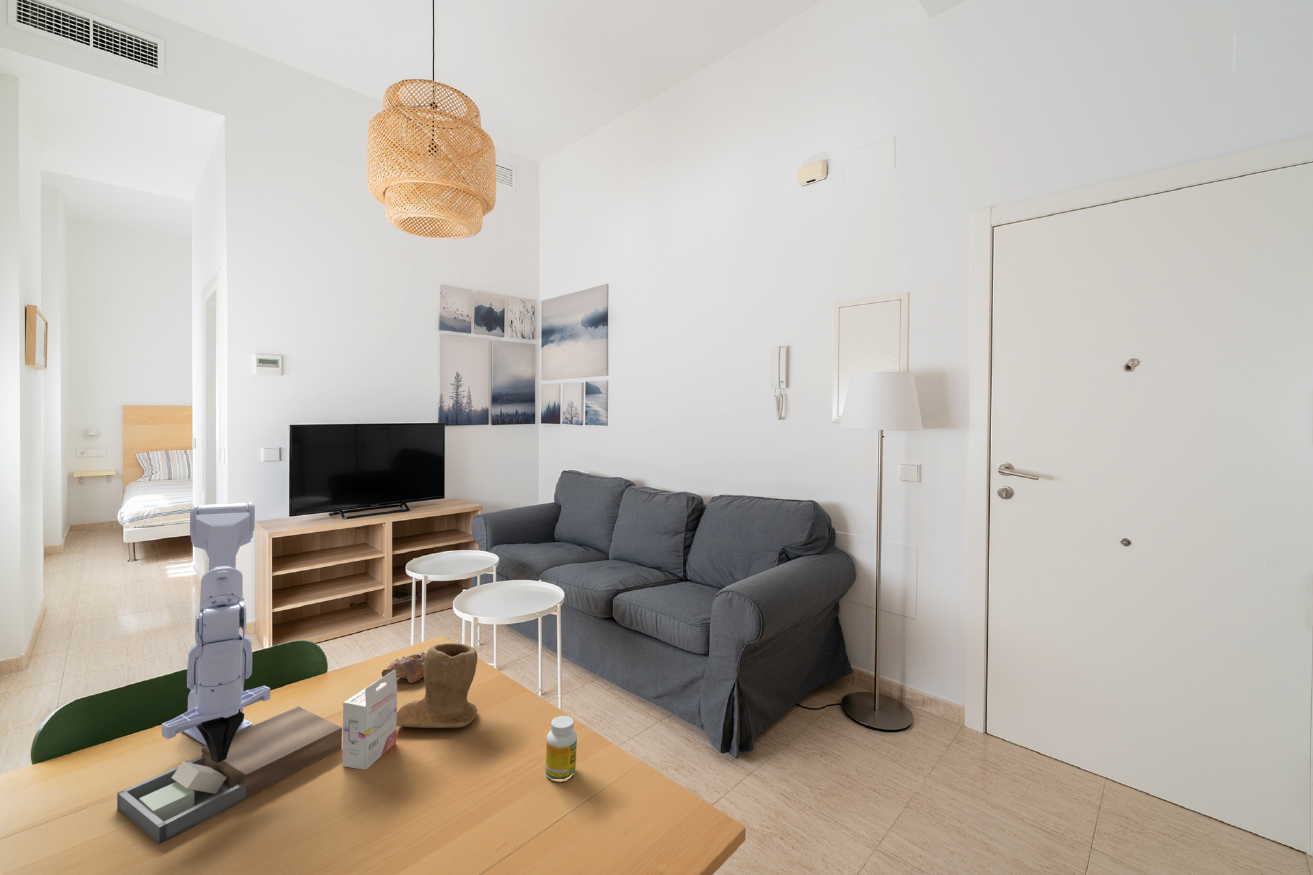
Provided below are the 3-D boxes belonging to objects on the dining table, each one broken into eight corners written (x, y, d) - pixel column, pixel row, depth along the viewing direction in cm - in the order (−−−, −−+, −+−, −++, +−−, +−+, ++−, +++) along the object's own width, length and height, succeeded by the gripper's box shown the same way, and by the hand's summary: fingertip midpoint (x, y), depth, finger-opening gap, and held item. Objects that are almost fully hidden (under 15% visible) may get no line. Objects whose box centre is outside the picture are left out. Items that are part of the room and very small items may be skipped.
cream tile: (171, 777, 88) (183, 761, 89) (199, 783, 92) (210, 767, 93) (187, 788, 86) (198, 771, 87) (215, 793, 89) (226, 777, 91)
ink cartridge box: (374, 739, 106) (376, 664, 106) (396, 743, 105) (399, 668, 105) (340, 766, 98) (342, 685, 97) (364, 771, 97) (366, 689, 96)
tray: (117, 808, 86) (117, 792, 86) (201, 769, 95) (202, 755, 95) (159, 844, 79) (159, 827, 79) (245, 798, 89) (245, 783, 89)
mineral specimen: (410, 686, 124) (398, 658, 125) (387, 698, 126) (375, 670, 127) (446, 663, 136) (434, 638, 136) (423, 675, 138) (412, 649, 138)
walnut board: (201, 769, 95) (202, 747, 95) (297, 726, 110) (298, 706, 109) (245, 798, 89) (245, 774, 89) (341, 748, 103) (342, 727, 103)
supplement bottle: (547, 763, 101) (549, 712, 101) (577, 764, 102) (579, 713, 101) (542, 783, 96) (544, 729, 96) (573, 783, 96) (575, 730, 96)
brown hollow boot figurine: (484, 704, 121) (486, 637, 120) (467, 736, 109) (470, 661, 108) (413, 703, 120) (416, 635, 120) (389, 734, 108) (391, 659, 108)
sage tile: (180, 780, 89) (179, 794, 89) (139, 798, 84) (139, 813, 84) (194, 791, 86) (194, 806, 86) (153, 810, 82) (153, 826, 82)
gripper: (177, 704, 83) (176, 792, 83) (280, 667, 96) (279, 744, 96) (155, 691, 86) (154, 776, 86) (258, 657, 99) (256, 732, 99)
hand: (218, 759), depth 91 cm, fingers closed
